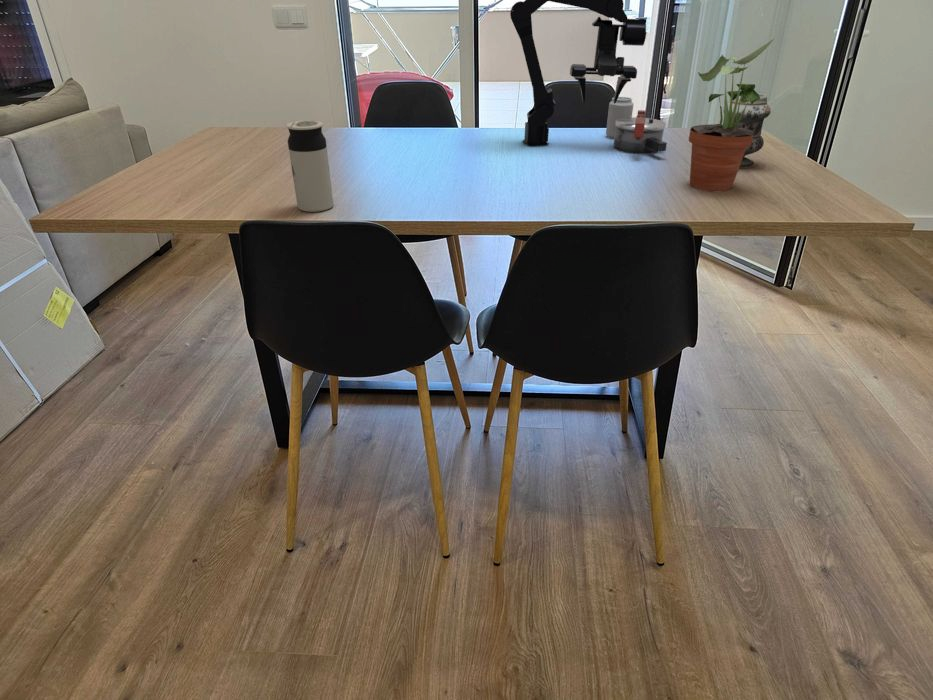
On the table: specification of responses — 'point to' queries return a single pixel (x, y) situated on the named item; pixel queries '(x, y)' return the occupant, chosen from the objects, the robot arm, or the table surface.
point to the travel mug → (310, 166)
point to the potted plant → (722, 133)
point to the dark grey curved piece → (639, 142)
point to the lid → (640, 124)
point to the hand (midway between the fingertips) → (599, 102)
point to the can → (618, 113)
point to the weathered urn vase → (752, 123)
